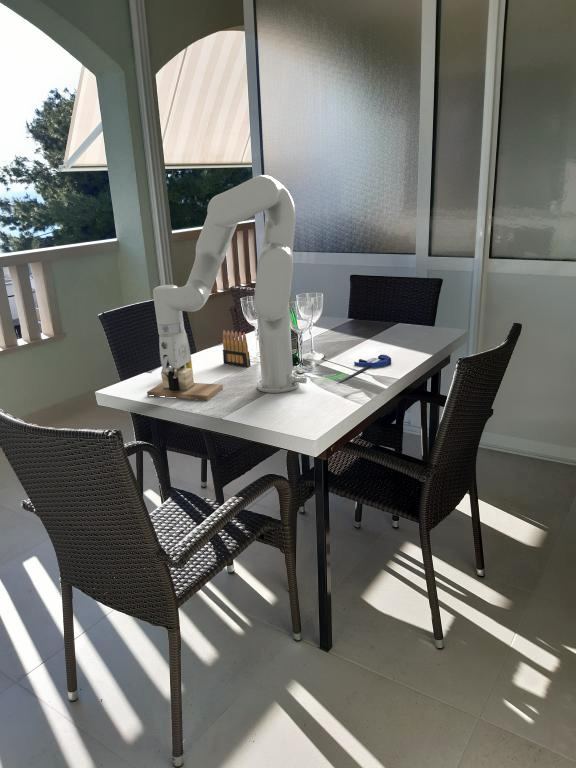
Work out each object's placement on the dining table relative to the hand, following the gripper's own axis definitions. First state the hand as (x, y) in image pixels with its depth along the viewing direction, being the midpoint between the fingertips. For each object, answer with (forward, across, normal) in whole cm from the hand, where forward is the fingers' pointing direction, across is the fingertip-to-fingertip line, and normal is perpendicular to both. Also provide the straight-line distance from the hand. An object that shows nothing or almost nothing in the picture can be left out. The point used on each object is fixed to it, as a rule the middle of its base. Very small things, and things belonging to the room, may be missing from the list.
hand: (179, 386), depth 182 cm
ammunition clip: (+2, +29, -6) cm, 30 cm away
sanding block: (0, 0, 0) cm, 0 cm away
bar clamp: (+3, +26, -48) cm, 55 cm away
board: (+2, 0, -2) cm, 3 cm away
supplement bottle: (+2, +16, +7) cm, 18 cm away
